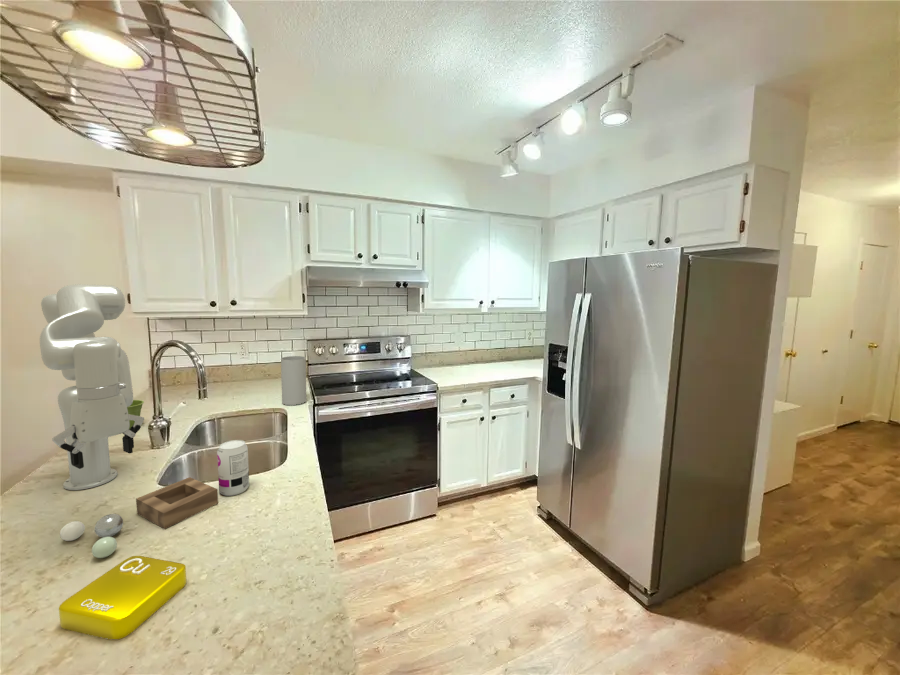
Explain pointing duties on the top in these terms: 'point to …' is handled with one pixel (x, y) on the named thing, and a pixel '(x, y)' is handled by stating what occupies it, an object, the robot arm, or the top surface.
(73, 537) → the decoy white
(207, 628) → the top surface
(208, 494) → the frame
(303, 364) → the cylinder vase
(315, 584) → the top surface
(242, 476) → the supplement can
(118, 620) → the element tile
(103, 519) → the steel ball
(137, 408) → the plant pot
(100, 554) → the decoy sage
